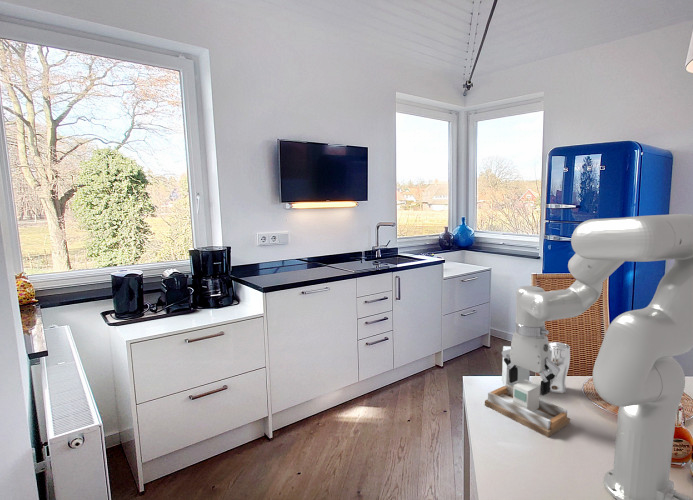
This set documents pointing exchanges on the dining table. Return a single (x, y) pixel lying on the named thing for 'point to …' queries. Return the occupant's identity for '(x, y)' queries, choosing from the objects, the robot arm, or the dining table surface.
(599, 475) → the dining table surface
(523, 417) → the rail board
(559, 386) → the beer glass
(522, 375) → the supplement box
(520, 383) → the block
